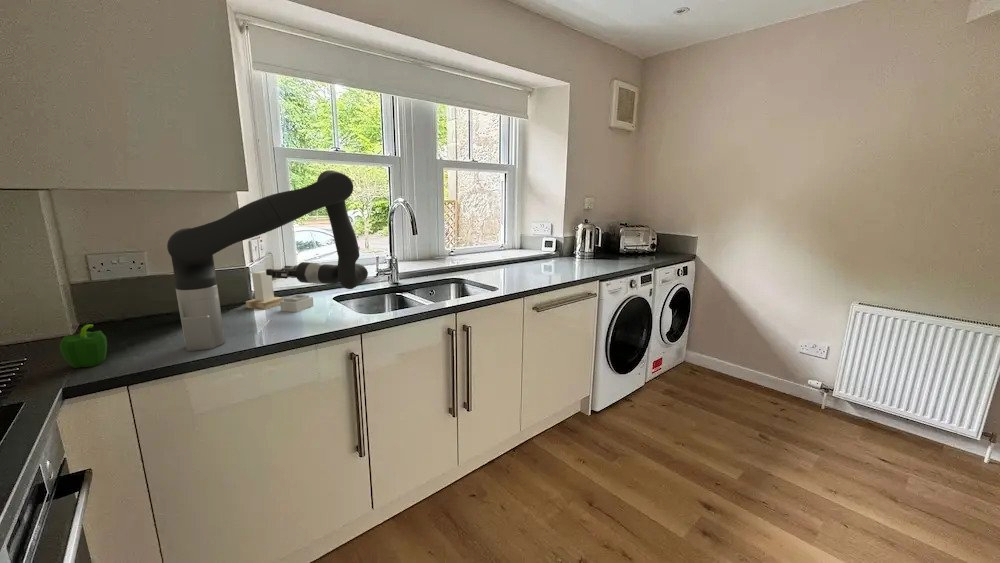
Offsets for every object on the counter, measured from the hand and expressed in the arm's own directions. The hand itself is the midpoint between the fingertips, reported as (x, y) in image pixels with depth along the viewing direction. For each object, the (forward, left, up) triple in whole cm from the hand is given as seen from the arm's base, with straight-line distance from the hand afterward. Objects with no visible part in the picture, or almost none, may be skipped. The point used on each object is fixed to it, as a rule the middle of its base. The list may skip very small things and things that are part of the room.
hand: (276, 270), depth 146 cm
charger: (+8, +6, -13) cm, 17 cm away
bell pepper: (-40, +37, -15) cm, 57 cm away
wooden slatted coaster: (+9, +6, -15) cm, 19 cm away
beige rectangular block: (0, -6, -15) cm, 16 cm away
